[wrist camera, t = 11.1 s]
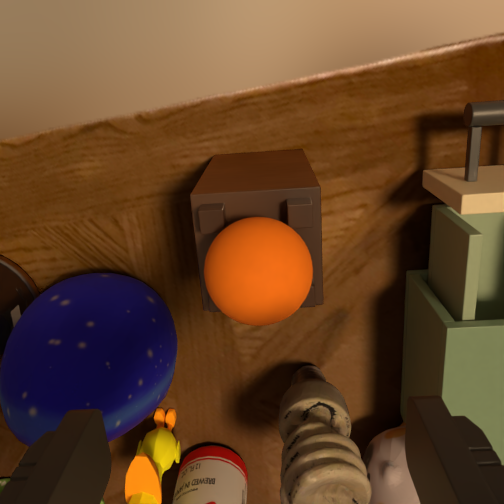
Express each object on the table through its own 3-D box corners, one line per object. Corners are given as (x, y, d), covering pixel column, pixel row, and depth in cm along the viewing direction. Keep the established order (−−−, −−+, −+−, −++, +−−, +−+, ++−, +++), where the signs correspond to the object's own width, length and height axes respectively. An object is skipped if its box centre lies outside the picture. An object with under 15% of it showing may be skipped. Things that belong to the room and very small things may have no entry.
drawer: (426, 100, 32) (469, 108, 26) (555, 90, 32) (634, 96, 25) (414, 326, 38) (446, 381, 32) (522, 320, 38) (579, 375, 31)
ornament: (53, 345, 41) (-57, 489, 27) (52, 244, 38) (-74, 348, 24) (183, 362, 41) (141, 513, 27) (193, 263, 38) (151, 377, 24)
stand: (222, 238, 37) (200, 322, 25) (214, 154, 35) (185, 200, 23) (305, 233, 37) (325, 315, 24) (302, 148, 35) (323, 192, 22)
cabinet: (406, 270, 38) (447, 328, 29) (532, 263, 37) (611, 320, 29) (399, 412, 42) (433, 498, 34) (511, 408, 42) (574, 494, 33)
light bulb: (274, 343, 40) (278, 488, 26) (340, 340, 40) (380, 485, 26) (277, 399, 42) (283, 562, 28) (340, 396, 42) (378, 560, 28)
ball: (215, 298, 26) (203, 349, 21) (205, 207, 24) (190, 241, 19) (309, 293, 25) (319, 344, 21) (306, 201, 24) (316, 233, 19)
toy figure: (144, 382, 42) (100, 497, 31) (185, 384, 42) (156, 499, 31) (148, 444, 44) (108, 571, 33) (187, 446, 44) (160, 573, 33)
